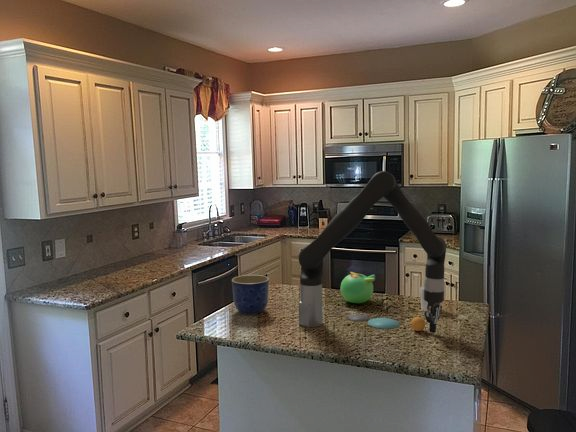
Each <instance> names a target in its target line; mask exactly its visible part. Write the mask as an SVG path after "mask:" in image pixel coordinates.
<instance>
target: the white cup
mask: <svg viewBox="0 0 576 432" xmlns="http://www.w3.org/2000/svg"><path fill="white" fill-rule="evenodd" d="M419 289H420V290H419V292H420V293H419V294H420V309H421V310H422V311H424V312H427V305H428V302H427V301H425V300H424V285H422V286H420V287H419Z"/></svg>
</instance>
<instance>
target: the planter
mask: <svg viewBox="0 0 576 432" xmlns="http://www.w3.org/2000/svg"><path fill="white" fill-rule="evenodd" d="M269 285H270V278H269V277H268V276H266V275H261V274H245V275H239V276H234V277H233V278H232V279H231V287H232V298H233V305H234V306H235V308H236V310H237V311H238V312H239V313H241V314H243V315H244V314H245V315H257V314H259V313H262V312H263V311H265V309H266V307H267V306H268V302H269V288H270V286H269Z"/></svg>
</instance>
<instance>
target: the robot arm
mask: <svg viewBox="0 0 576 432" xmlns="http://www.w3.org/2000/svg"><path fill="white" fill-rule="evenodd" d="M381 199H385V200H386V201H387V202H388V203H389V204H390V205H391V206H392V207H393V208H394V210H395V211H396V212H397V214H398V215H399V217H400V219H401V220H402V221H403V223H404V224H405V226H406V227H407V228H408V230H410V232H411V233H412V235H414V236H415V238H416V239H417V241H418V243H419V244H420V246H421V247H422V249H423V250H424V252H425V253H426V254H427V255H426V256H427V258H426V263H425V269H424V270H425V271H424V273H425V274H424V275H425V276H424V282H423V283H424V285H423V286H424V300H425V301H427V302H428V305H427V311H424V317H425V320H426V323H429V326H428V327H429V330H428V331H429V333H432V334H435V333H436V332H437V323H438V321H439V320H440V318H441V313H442V310H443V305H441V304H442V303H444V301H445V284H446V283H445V261H446V254H447V243H446V241H445V239H444V238H442V236H441V237H440V236H437V235H436V234H435V232H434V231H433V230H432V227H431V225H430V223H429V222H428V221H427V220H426V218H425V217H424V216H423V215H422V214H421V212H420V211H419V210H418V209H417V208H416V207H415V206H414V205H413V204H412V203H411V202H410V200H409V199H408V198H407V197H406V195H405V194H404V193H403V191H402V190H401V188H400V186H399V185H398V183H397V180H396V177H395V176H394V175H393V174H392V173H390V172H389V171H384V170H381V171H378V172H376V173H375V174H373V175H372V177H371V178H370V179H369V181H368V182H367V183H366V185H365V186H364V187H363V188H362V190H361V191H360V192H359V193H358V194H357V195H356V196H354V197H353V198H352V199H351V200H350V201H349V202H348V203H346V205H345V206H344V207H342V208H341V209H340V210H339V211H338V212H337V213H336V214H335V216H333V218H332V219H330V221H329V222H328V224H327V225H326V226H325V228H324V229H323V230H322V231H321V232H320V234H319V235H318V236H317V237H316V238H314V239H313V241H312V242H310V243H309V244H307V245H305V246H304V247H303V248H302V249H301V250H300V252H299V254H298V262H299V263H298V264H299V265H300V267H301V269H300V275H299V276H300V277H299V280H300V281H299V287H300V288H299V295H300V296H299V300H300V301H299V302H298V325H301V326H304V327H307V328H312V327H313V328H315V327H319V326H322V324H323V277H324V275H323V274H324V258H325V257H326V255H327V254H328V253H329V252H331V250H332V249H333V248H334V247H335V246H337V245H338V244H339V243H340V242H342V241H343V240H344V239H346V237H348V236H349V235H350V234H351V233H352V232H353V231H354V230H355V229H356V228H357V227H358V226H359V225H360V224H361V222H362V221H364V219H365V217H366V216H367V214H368V213H369V211H370V210H371V208H372V207H374V206H375V204H377V203H378V202H379V201H380V200H381Z"/></svg>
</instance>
